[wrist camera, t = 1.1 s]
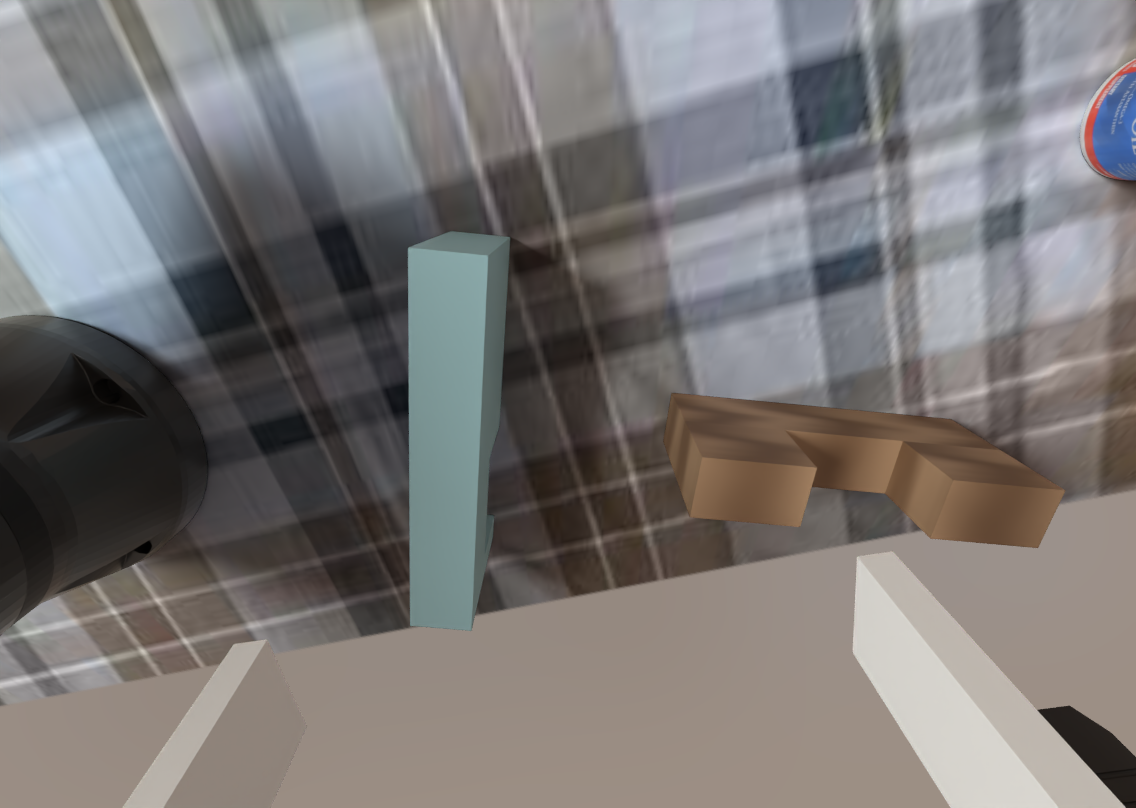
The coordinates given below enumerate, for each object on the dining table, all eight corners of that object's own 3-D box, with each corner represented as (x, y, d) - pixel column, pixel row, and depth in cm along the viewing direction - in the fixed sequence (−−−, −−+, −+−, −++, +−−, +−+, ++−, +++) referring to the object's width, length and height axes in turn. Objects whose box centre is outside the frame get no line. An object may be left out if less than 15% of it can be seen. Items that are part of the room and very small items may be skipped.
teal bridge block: (444, 531, 35) (409, 625, 28) (451, 231, 29) (408, 247, 21) (492, 536, 35) (471, 630, 28) (510, 237, 29) (488, 255, 21)
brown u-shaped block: (663, 441, 33) (689, 517, 25) (671, 392, 32) (702, 457, 24) (933, 466, 33) (1037, 548, 26) (950, 419, 32) (1065, 490, 25)
